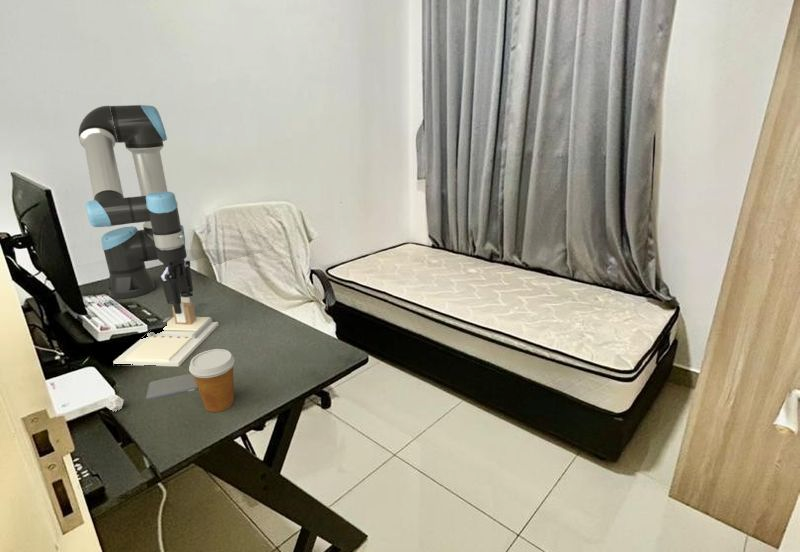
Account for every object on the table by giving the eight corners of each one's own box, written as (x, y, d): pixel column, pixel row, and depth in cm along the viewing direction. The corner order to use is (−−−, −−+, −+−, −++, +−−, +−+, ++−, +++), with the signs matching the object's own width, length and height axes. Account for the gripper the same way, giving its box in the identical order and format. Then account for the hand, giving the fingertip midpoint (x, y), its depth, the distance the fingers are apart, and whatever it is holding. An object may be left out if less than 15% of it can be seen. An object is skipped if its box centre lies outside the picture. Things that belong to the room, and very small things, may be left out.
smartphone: (149, 381, 114) (213, 368, 119) (149, 384, 114) (213, 371, 119) (144, 398, 107) (213, 384, 112) (145, 402, 108) (213, 387, 112)
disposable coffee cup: (249, 402, 106) (241, 357, 102) (209, 422, 99) (200, 375, 95) (228, 386, 112) (220, 343, 108) (189, 405, 105) (180, 359, 101)
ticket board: (163, 323, 145) (162, 317, 144) (218, 324, 143) (217, 318, 142) (113, 364, 122) (111, 357, 121) (178, 366, 121) (177, 358, 120)
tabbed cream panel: (174, 318, 145) (170, 299, 143) (210, 318, 144) (207, 299, 142) (160, 329, 138) (155, 310, 135) (198, 330, 137) (194, 310, 135)
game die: (104, 410, 104) (100, 400, 103) (120, 402, 107) (117, 391, 106) (112, 415, 102) (109, 404, 101) (128, 406, 105) (125, 395, 104)
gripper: (167, 255, 124) (183, 331, 133) (196, 238, 139) (209, 308, 148) (141, 254, 125) (158, 331, 133) (173, 238, 140) (187, 307, 148)
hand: (185, 319), depth 141 cm, fingers closed on tabbed cream panel, 3 cm apart
